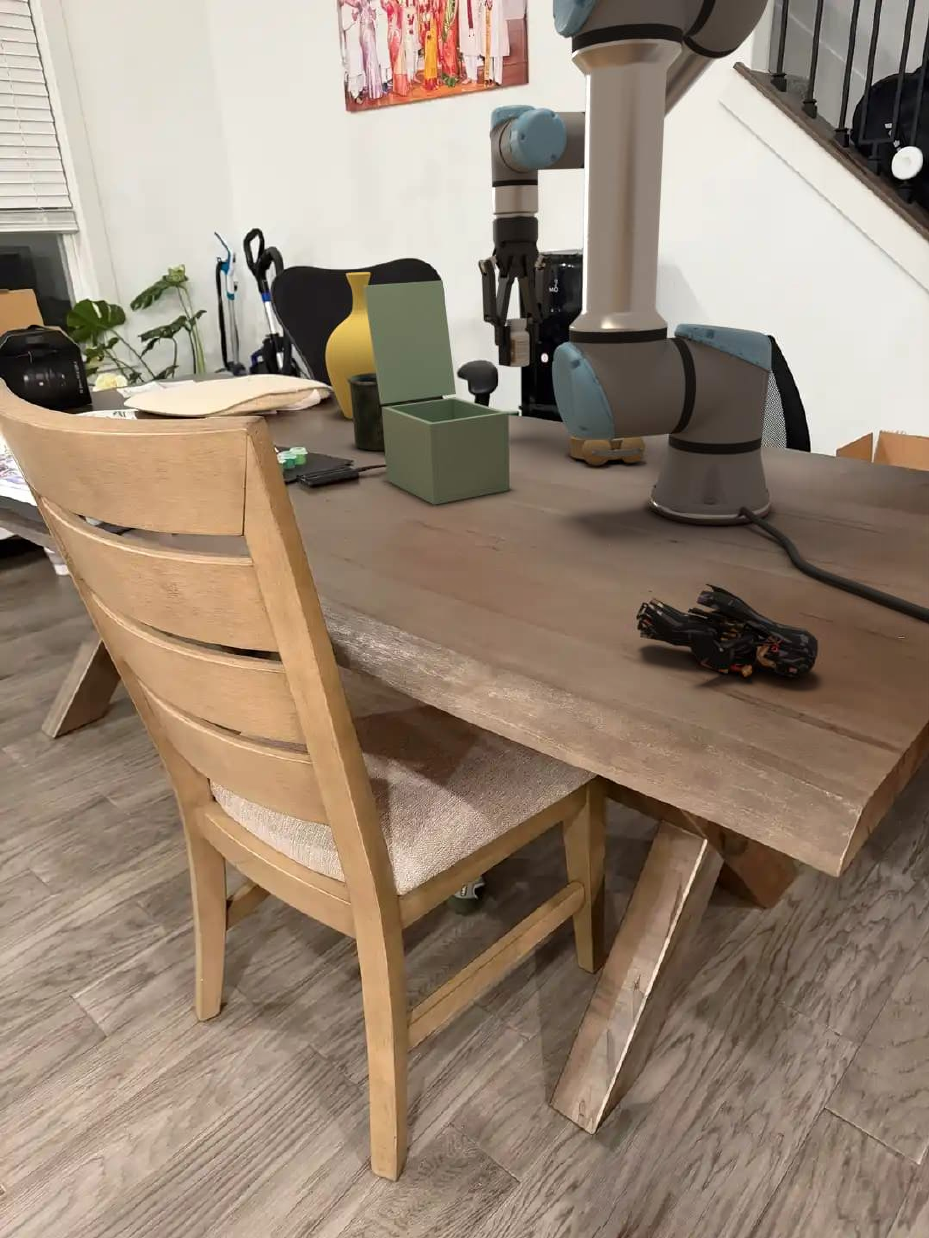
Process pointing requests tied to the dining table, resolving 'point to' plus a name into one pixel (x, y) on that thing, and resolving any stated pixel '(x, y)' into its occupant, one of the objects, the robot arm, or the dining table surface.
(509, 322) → the pill bottle
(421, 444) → the chest
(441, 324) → the lid
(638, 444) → the wooden toy car
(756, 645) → the figurine
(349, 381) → the mug
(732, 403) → the robot arm
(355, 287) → the vase
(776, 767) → the dining table surface
